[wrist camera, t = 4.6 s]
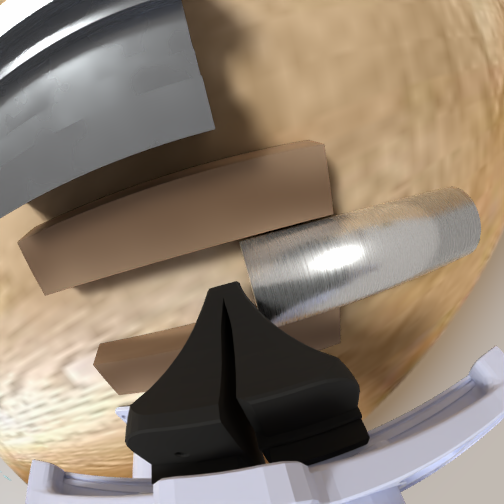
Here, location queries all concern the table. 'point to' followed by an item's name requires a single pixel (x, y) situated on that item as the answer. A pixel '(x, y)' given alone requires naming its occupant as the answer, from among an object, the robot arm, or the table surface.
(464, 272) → the table surface
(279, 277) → the axle
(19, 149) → the v block
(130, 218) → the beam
